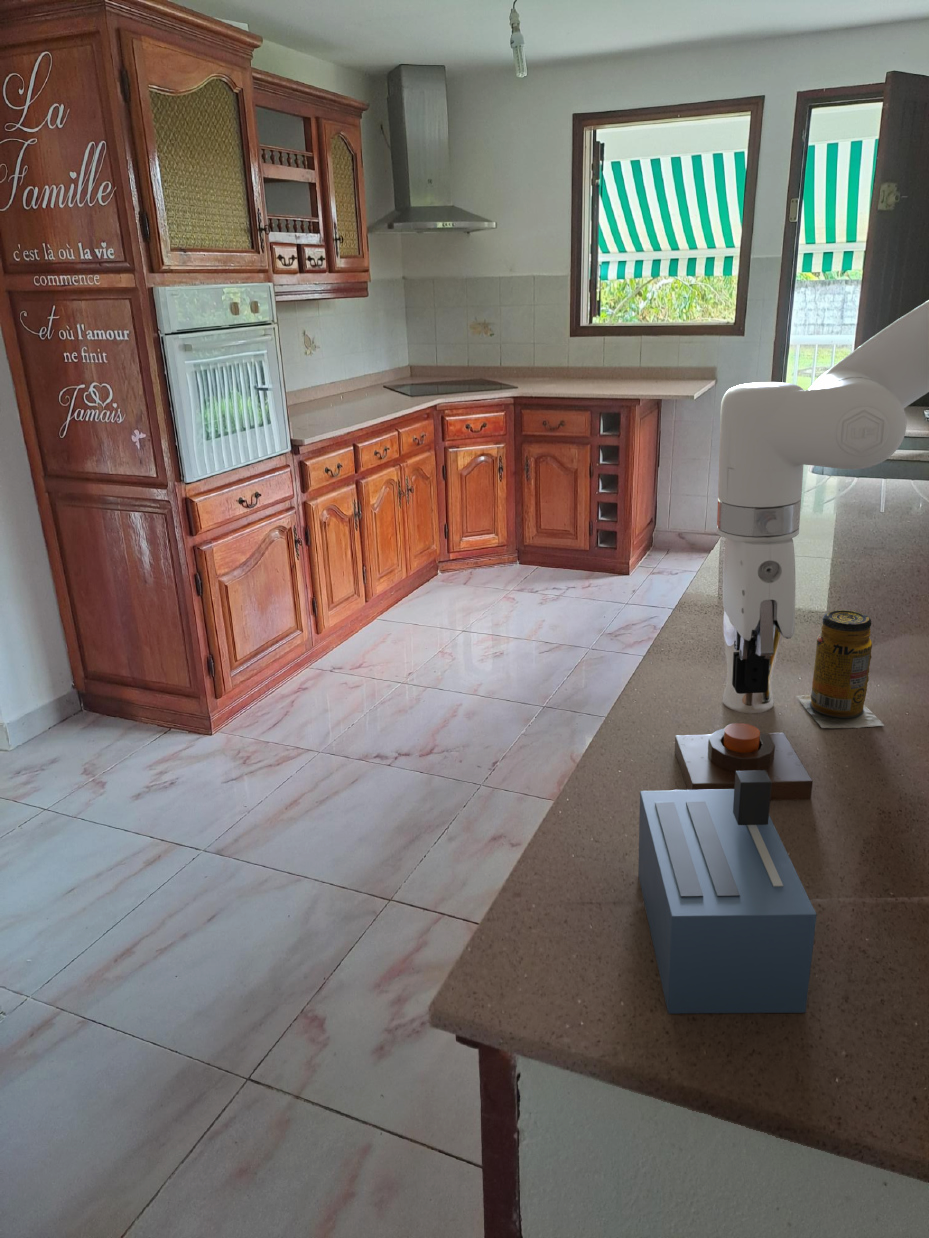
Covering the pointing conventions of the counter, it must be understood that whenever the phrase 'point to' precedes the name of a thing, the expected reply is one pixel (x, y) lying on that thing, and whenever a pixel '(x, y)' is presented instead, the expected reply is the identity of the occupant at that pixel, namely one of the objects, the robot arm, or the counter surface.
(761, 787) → the toaster slider
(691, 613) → the counter surface
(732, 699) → the beer glass
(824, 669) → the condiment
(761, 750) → the block
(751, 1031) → the counter surface
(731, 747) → the button
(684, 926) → the toaster
